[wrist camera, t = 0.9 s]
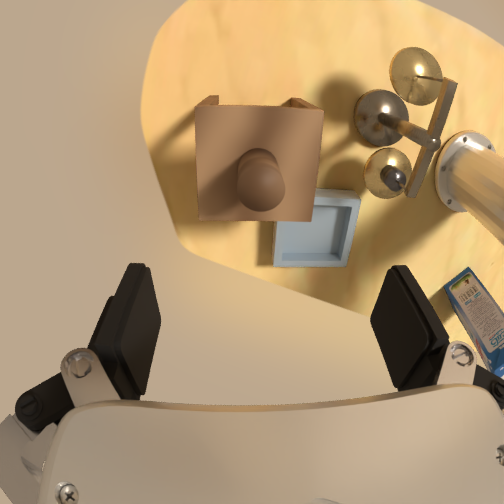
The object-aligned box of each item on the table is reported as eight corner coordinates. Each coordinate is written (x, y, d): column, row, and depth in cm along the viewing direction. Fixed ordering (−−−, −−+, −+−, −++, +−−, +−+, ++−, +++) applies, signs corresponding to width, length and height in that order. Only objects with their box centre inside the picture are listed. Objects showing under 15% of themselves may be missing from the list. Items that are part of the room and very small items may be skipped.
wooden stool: (300, 98, 30) (343, 122, 17) (293, 179, 36) (323, 253, 23) (209, 95, 30) (182, 116, 17) (210, 177, 36) (191, 252, 23)
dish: (354, 190, 37) (361, 199, 35) (340, 255, 43) (346, 266, 40) (276, 186, 37) (279, 195, 34) (271, 254, 42) (273, 266, 40)
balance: (411, 56, 27) (484, 63, 15) (392, 185, 36) (445, 239, 25) (359, 42, 26) (421, 36, 15) (344, 181, 36) (387, 237, 25)
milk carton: (476, 293, 49) (523, 367, 33) (454, 311, 51) (496, 387, 35) (468, 266, 45) (525, 346, 28) (443, 285, 47) (494, 371, 31)
